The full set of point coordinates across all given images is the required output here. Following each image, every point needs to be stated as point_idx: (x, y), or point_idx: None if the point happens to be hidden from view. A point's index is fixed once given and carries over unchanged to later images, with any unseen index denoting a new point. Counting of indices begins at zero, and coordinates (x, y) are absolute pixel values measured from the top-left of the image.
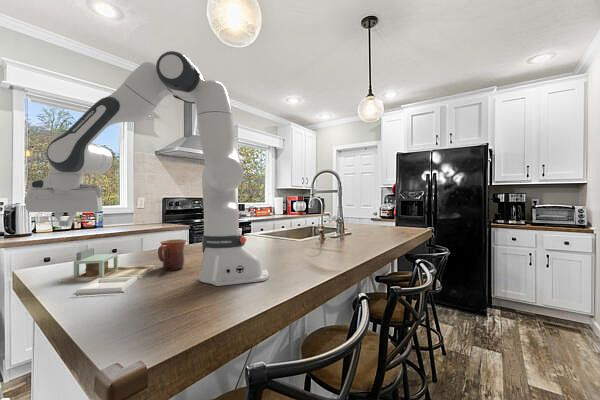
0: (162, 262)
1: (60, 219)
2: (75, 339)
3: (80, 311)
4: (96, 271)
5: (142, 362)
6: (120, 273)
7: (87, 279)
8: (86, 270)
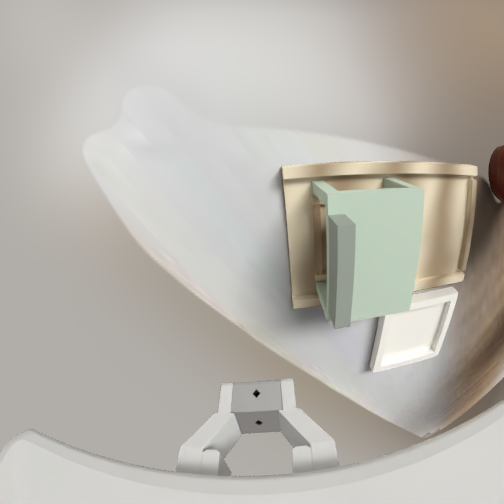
0: (500, 187)
1: (233, 439)
2: (403, 428)
3: (393, 400)
4: None
5: (439, 429)
6: None
7: None
8: None
